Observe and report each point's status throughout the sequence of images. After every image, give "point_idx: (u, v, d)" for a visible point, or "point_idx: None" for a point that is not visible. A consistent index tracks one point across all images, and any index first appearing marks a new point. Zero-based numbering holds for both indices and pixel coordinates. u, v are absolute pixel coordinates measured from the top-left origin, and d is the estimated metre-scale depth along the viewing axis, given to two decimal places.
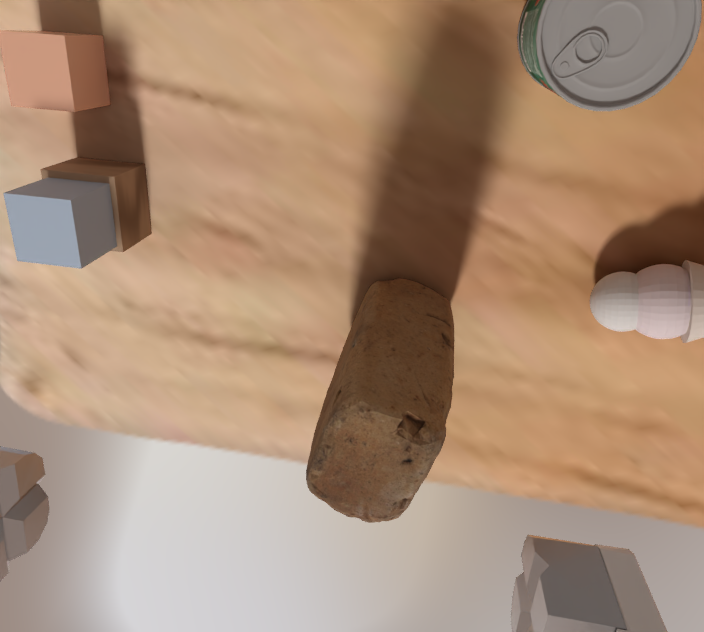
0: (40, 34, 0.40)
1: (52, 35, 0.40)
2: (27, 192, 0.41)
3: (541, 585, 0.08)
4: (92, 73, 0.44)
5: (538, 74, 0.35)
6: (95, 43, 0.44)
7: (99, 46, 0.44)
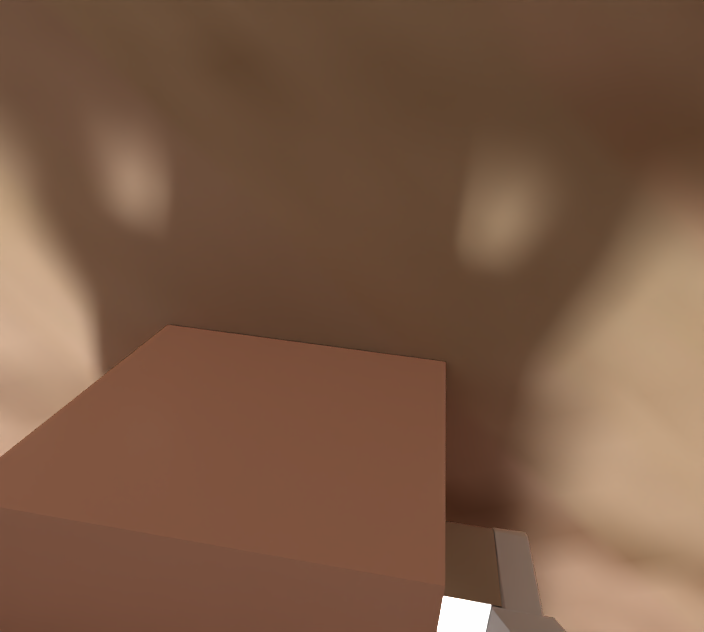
0: (255, 552, 0.06)
1: (347, 571, 0.05)
2: None
3: None
4: None
5: None
6: None
7: None
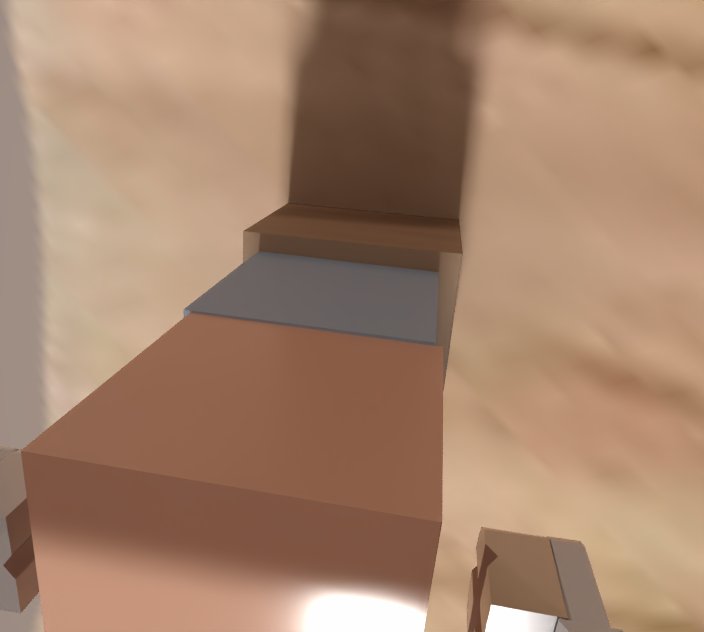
0: (282, 496, 0.07)
1: (360, 511, 0.07)
2: (258, 306, 0.12)
3: (488, 576, 0.08)
4: None
5: None
6: None
7: None
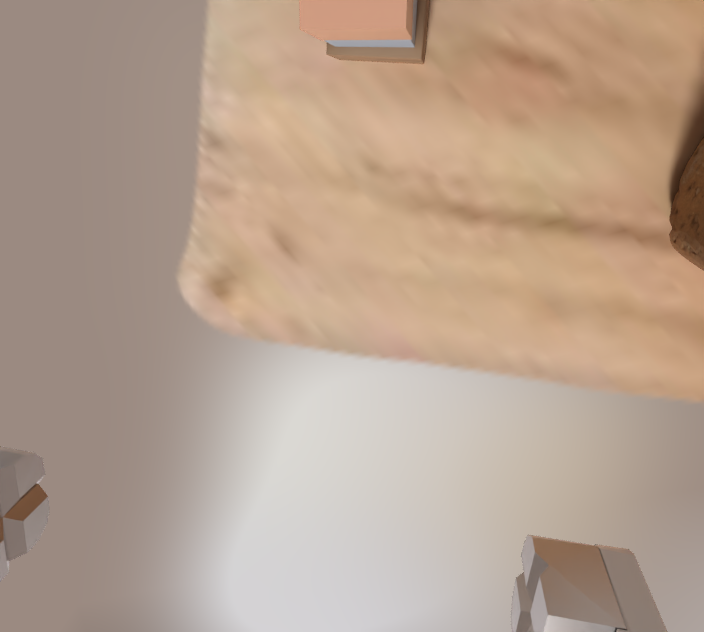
0: None
1: None
2: None
3: (541, 585, 0.08)
4: None
5: None
6: None
7: None
